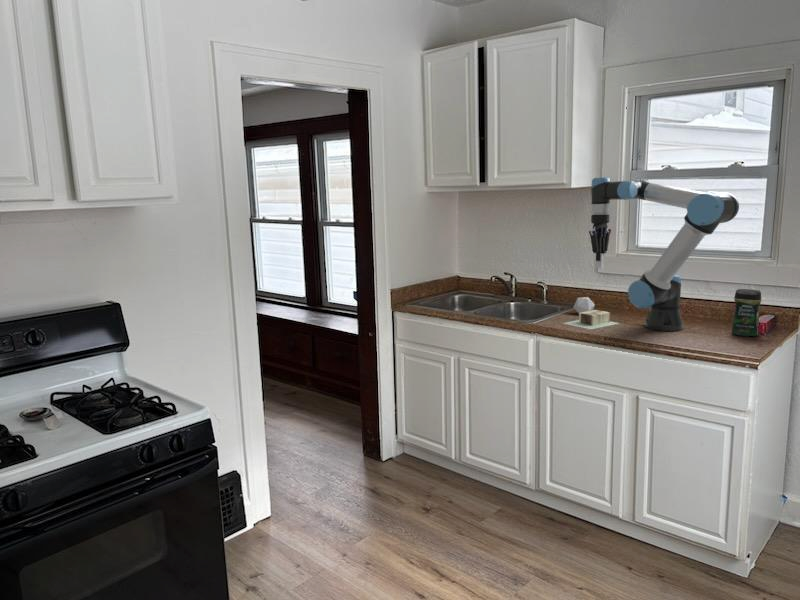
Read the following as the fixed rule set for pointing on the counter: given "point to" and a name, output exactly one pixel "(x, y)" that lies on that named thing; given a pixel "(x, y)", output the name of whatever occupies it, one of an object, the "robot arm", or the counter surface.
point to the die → (583, 305)
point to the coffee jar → (746, 312)
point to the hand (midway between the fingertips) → (599, 268)
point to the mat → (576, 323)
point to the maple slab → (594, 317)
